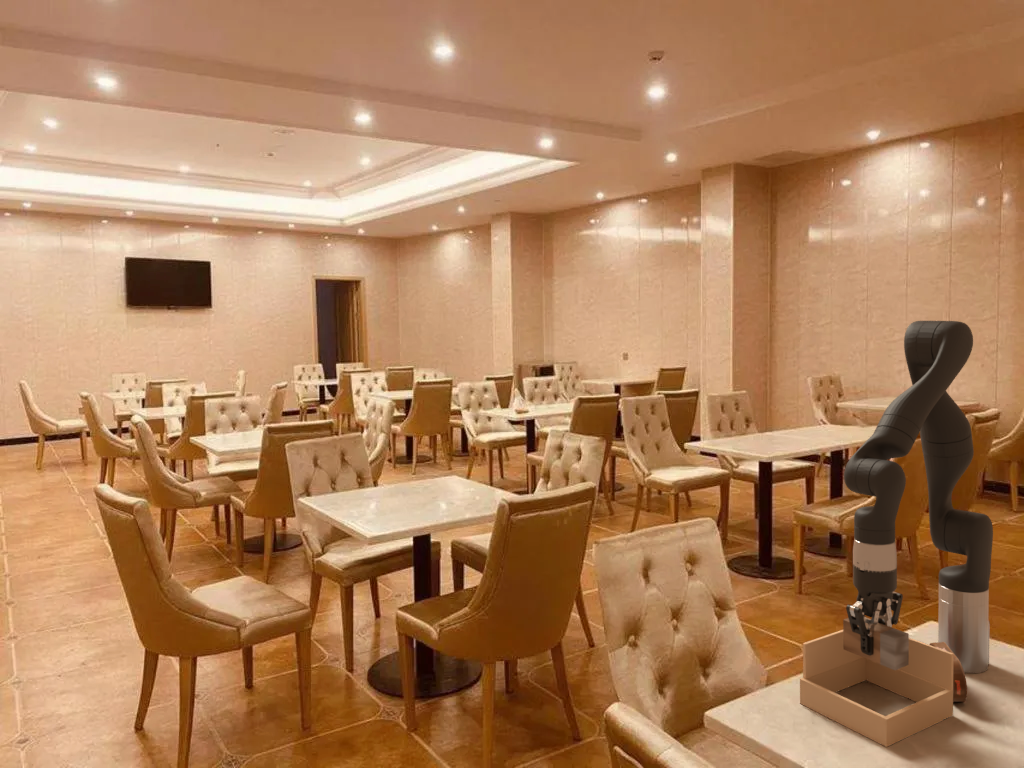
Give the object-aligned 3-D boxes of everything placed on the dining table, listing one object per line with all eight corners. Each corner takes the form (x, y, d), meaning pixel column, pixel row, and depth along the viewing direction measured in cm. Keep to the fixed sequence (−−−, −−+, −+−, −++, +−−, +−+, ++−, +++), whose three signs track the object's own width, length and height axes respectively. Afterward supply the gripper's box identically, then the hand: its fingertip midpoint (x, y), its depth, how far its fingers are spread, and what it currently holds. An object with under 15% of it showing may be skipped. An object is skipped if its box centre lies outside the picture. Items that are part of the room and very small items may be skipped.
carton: (864, 677, 162) (865, 621, 161) (952, 715, 146) (953, 653, 145) (800, 703, 153) (799, 644, 152) (886, 746, 137) (886, 680, 136)
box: (856, 644, 155) (856, 614, 154) (908, 664, 145) (908, 633, 145) (843, 649, 153) (843, 619, 152) (895, 670, 143) (894, 638, 143)
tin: (968, 710, 148) (969, 667, 147) (950, 709, 149) (951, 666, 148) (942, 674, 163) (942, 635, 162) (925, 673, 163) (925, 634, 163)
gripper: (880, 551, 154) (881, 635, 155) (832, 565, 147) (833, 653, 149) (916, 560, 147) (916, 648, 149) (867, 576, 140) (868, 668, 142)
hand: (875, 650), depth 149 cm, fingers closed on box, 4 cm apart
